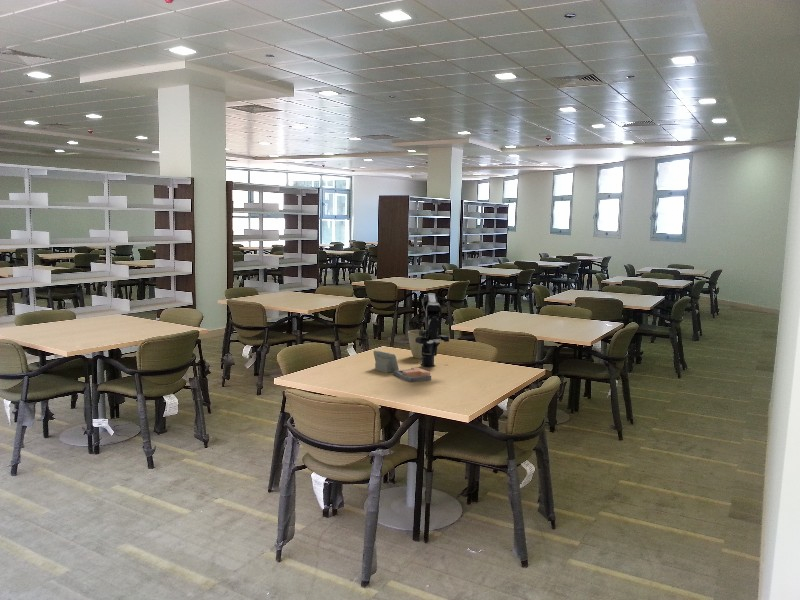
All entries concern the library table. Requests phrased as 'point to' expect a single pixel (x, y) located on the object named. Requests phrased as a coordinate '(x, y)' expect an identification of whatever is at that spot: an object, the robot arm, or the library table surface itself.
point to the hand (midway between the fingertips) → (431, 355)
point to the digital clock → (385, 362)
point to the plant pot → (413, 345)
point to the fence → (410, 379)
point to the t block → (416, 372)
